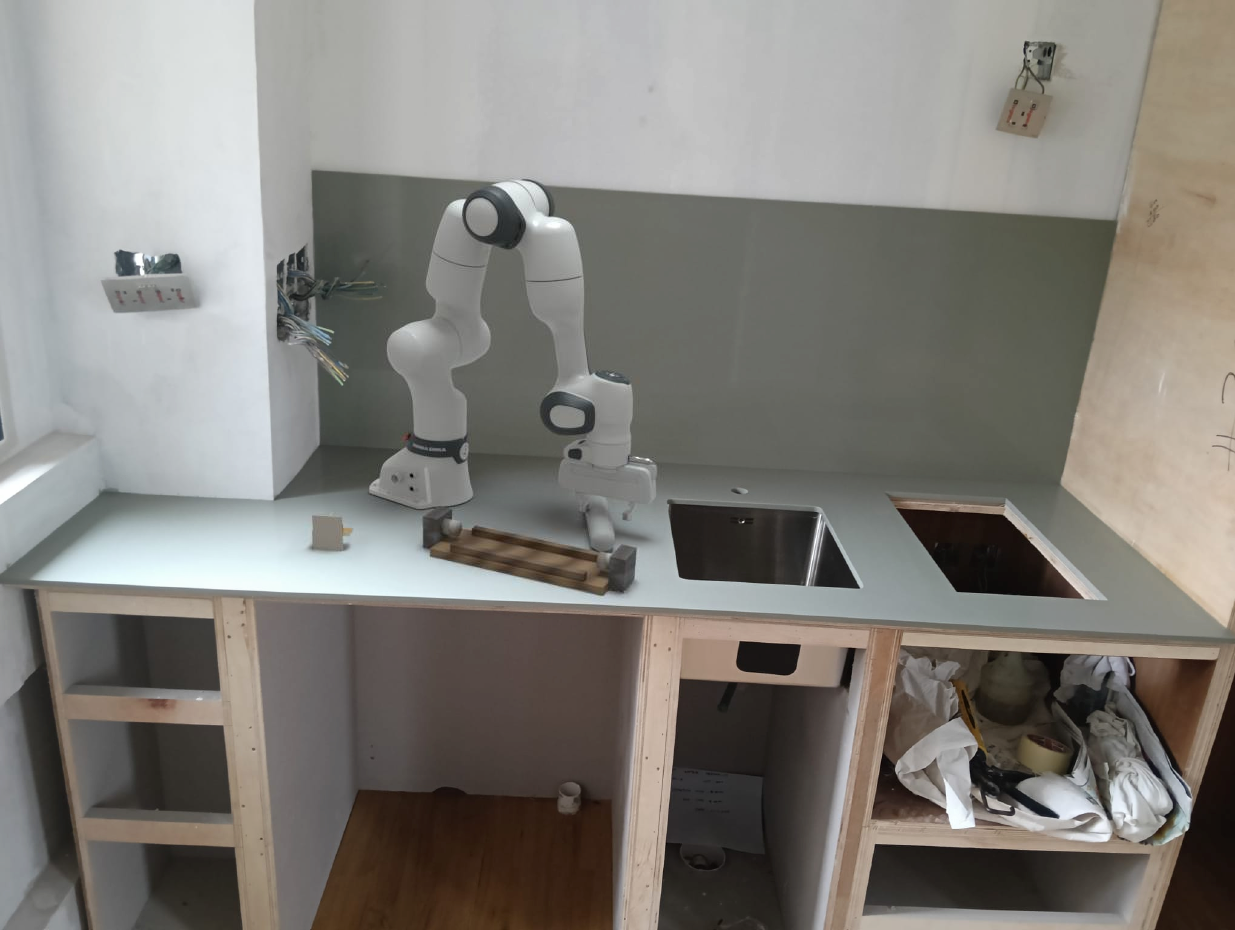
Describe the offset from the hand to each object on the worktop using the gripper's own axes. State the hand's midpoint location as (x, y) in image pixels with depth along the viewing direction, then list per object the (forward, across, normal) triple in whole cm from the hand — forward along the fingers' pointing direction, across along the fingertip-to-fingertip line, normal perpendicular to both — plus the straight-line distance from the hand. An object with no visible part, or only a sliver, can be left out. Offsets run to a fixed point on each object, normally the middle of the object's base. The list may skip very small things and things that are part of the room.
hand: (605, 515), depth 203 cm
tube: (+4, +2, 0) cm, 4 cm away
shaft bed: (+3, +7, +22) cm, 23 cm away
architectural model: (+3, +43, +33) cm, 55 cm away
